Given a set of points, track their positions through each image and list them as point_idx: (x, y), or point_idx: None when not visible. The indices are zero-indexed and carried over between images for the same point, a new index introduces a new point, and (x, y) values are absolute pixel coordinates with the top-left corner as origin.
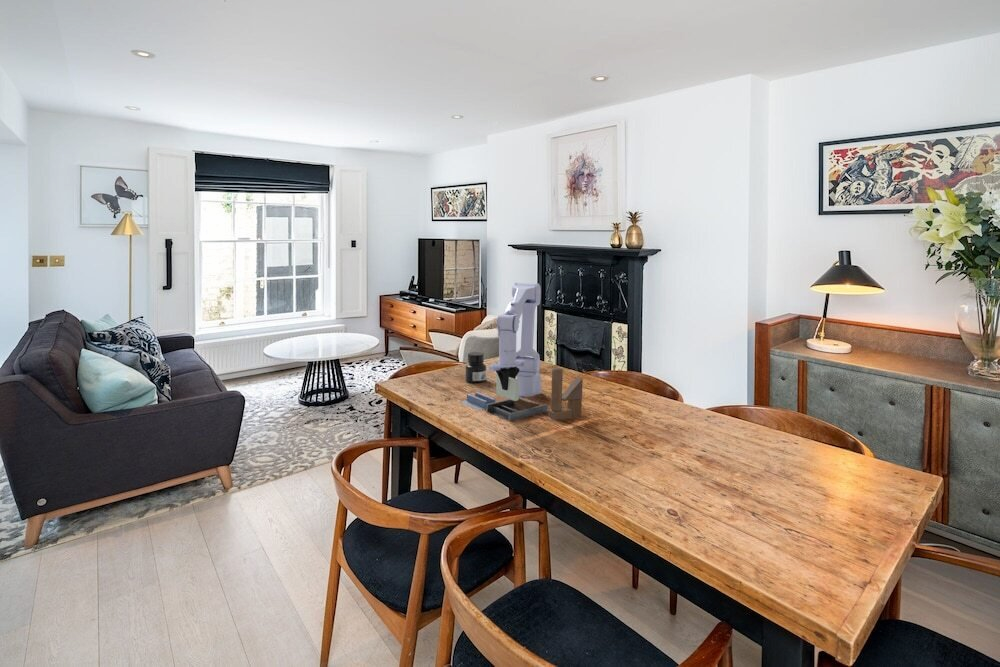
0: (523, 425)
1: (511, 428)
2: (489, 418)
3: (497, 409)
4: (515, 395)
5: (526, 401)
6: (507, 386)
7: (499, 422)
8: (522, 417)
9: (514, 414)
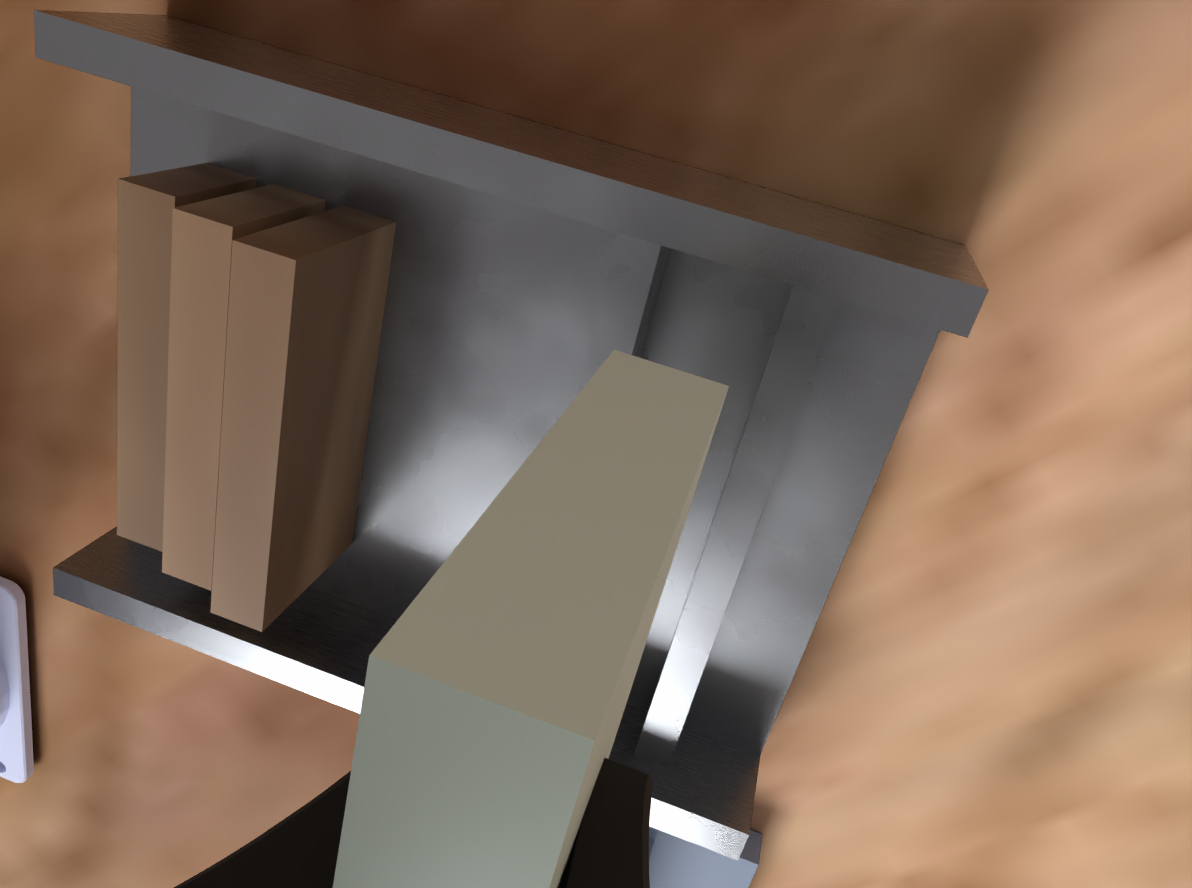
0: (878, 13)
1: (1156, 103)
2: (884, 644)
3: (705, 660)
4: (695, 434)
5: (289, 350)
6: (601, 828)
7: (967, 442)
8: (678, 175)
9: (869, 250)
